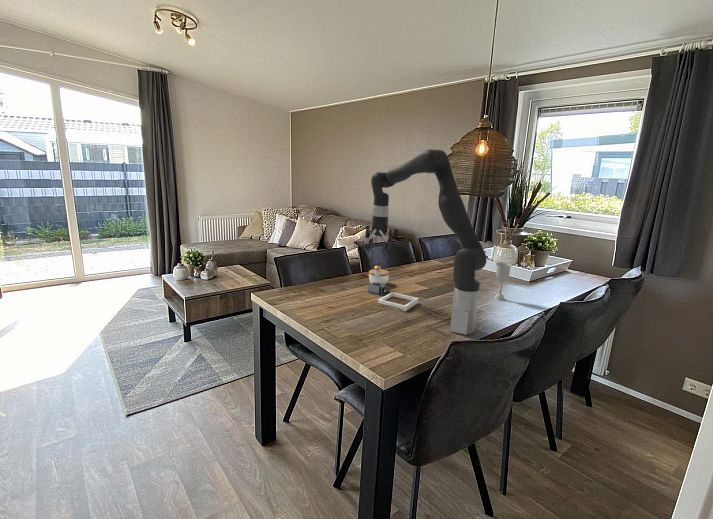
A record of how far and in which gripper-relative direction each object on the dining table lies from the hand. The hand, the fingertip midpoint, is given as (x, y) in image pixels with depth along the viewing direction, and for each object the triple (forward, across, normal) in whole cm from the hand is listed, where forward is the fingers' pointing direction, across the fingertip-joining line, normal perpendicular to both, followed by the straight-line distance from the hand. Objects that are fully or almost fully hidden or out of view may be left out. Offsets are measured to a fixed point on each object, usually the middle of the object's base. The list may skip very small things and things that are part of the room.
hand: (378, 248), depth 185 cm
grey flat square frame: (+23, +16, -7) cm, 29 cm away
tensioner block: (+23, +2, 0) cm, 23 cm away
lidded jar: (+24, -6, +13) cm, 28 cm away
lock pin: (+22, 0, 0) cm, 22 cm away
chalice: (+24, +53, +31) cm, 66 cm away
